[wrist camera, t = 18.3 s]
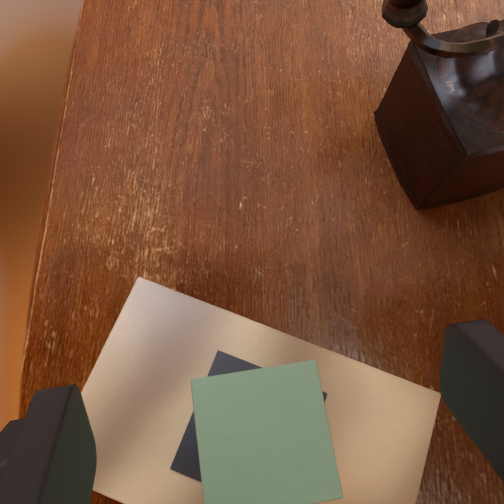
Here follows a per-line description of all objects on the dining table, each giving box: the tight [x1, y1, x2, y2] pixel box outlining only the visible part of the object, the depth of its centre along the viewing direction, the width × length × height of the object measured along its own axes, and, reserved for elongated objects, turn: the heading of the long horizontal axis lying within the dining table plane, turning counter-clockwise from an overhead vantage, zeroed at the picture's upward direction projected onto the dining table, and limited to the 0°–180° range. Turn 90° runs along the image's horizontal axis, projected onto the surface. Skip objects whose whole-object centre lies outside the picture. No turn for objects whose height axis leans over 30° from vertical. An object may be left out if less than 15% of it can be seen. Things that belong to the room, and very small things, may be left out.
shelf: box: [81, 277, 441, 504], centre depth 30 cm, size 20×12×7 cm, turn 69°
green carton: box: [190, 360, 343, 504], centre depth 22 cm, size 5×5×10 cm
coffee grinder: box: [374, 0, 504, 209], centre depth 34 cm, size 16×11×18 cm
